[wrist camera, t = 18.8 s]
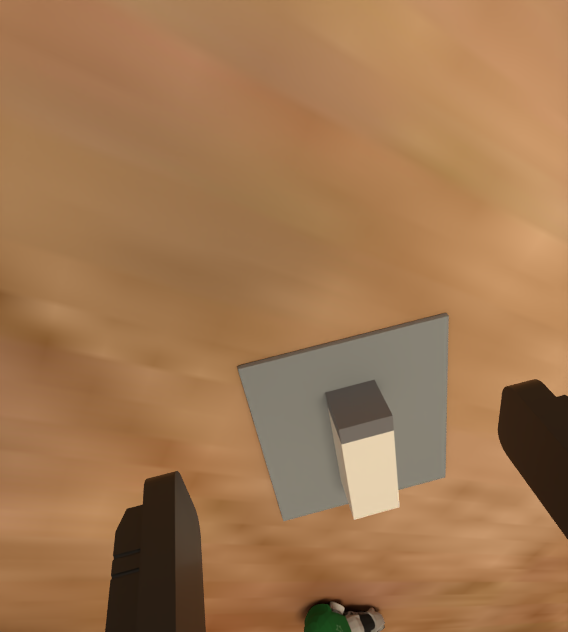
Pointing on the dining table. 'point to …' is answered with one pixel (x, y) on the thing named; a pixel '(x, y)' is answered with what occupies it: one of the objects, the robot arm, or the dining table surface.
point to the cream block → (364, 447)
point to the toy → (342, 619)
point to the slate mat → (313, 416)
